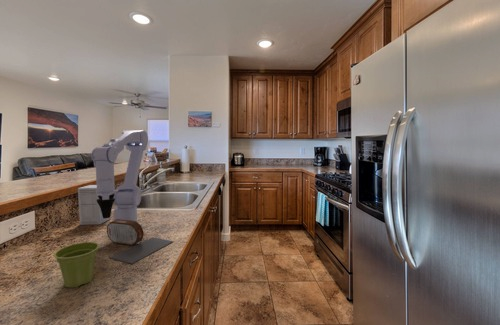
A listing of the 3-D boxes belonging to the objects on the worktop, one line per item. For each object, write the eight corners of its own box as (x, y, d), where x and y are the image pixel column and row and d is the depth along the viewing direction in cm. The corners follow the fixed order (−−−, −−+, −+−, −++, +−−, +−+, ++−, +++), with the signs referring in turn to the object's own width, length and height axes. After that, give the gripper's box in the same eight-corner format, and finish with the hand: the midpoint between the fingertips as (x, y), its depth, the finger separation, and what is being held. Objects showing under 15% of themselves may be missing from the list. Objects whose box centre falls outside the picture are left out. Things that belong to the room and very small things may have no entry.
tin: (144, 243, 86) (143, 220, 85) (138, 247, 83) (136, 223, 82) (113, 239, 91) (111, 217, 90) (105, 242, 88) (104, 220, 87)
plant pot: (87, 291, 58) (85, 256, 58) (46, 293, 58) (44, 258, 57) (107, 271, 68) (105, 241, 67) (72, 272, 67) (70, 242, 66)
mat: (108, 258, 76) (108, 257, 76) (152, 238, 92) (152, 237, 92) (131, 264, 72) (131, 263, 72) (173, 242, 88) (173, 241, 88)
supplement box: (111, 218, 117) (110, 184, 116) (100, 224, 108) (98, 187, 107) (91, 218, 117) (90, 184, 116) (78, 224, 108) (77, 187, 107)
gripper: (118, 180, 85) (119, 218, 85) (117, 176, 97) (118, 209, 98) (94, 182, 81) (96, 221, 82) (96, 177, 94) (98, 211, 94)
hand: (106, 215), depth 90 cm, fingers open, 7 cm apart
